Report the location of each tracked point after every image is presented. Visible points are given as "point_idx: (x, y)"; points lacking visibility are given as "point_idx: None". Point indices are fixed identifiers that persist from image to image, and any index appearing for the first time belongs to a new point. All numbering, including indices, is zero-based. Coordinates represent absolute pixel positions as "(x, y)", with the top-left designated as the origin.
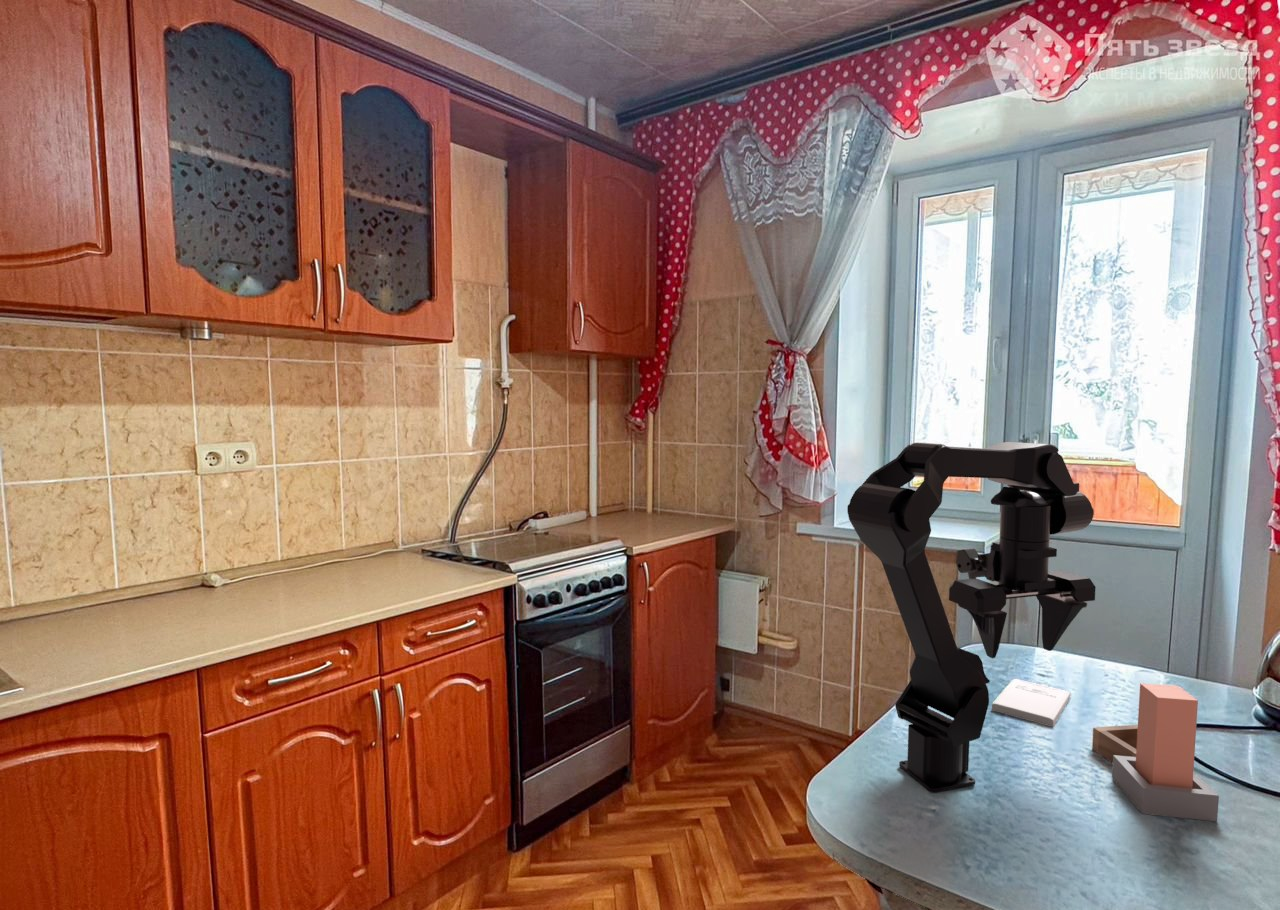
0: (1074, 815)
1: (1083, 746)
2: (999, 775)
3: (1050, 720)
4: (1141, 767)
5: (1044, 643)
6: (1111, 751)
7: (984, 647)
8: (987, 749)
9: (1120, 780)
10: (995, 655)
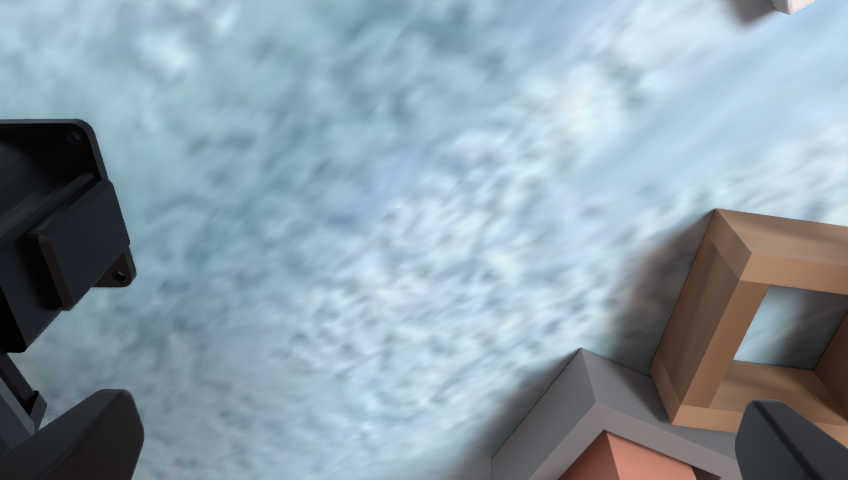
0: (322, 426)
1: (708, 183)
2: (249, 251)
3: (782, 3)
4: (590, 474)
5: (770, 446)
6: (697, 304)
7: (35, 439)
8: (321, 103)
9: (555, 399)
10: (130, 464)
